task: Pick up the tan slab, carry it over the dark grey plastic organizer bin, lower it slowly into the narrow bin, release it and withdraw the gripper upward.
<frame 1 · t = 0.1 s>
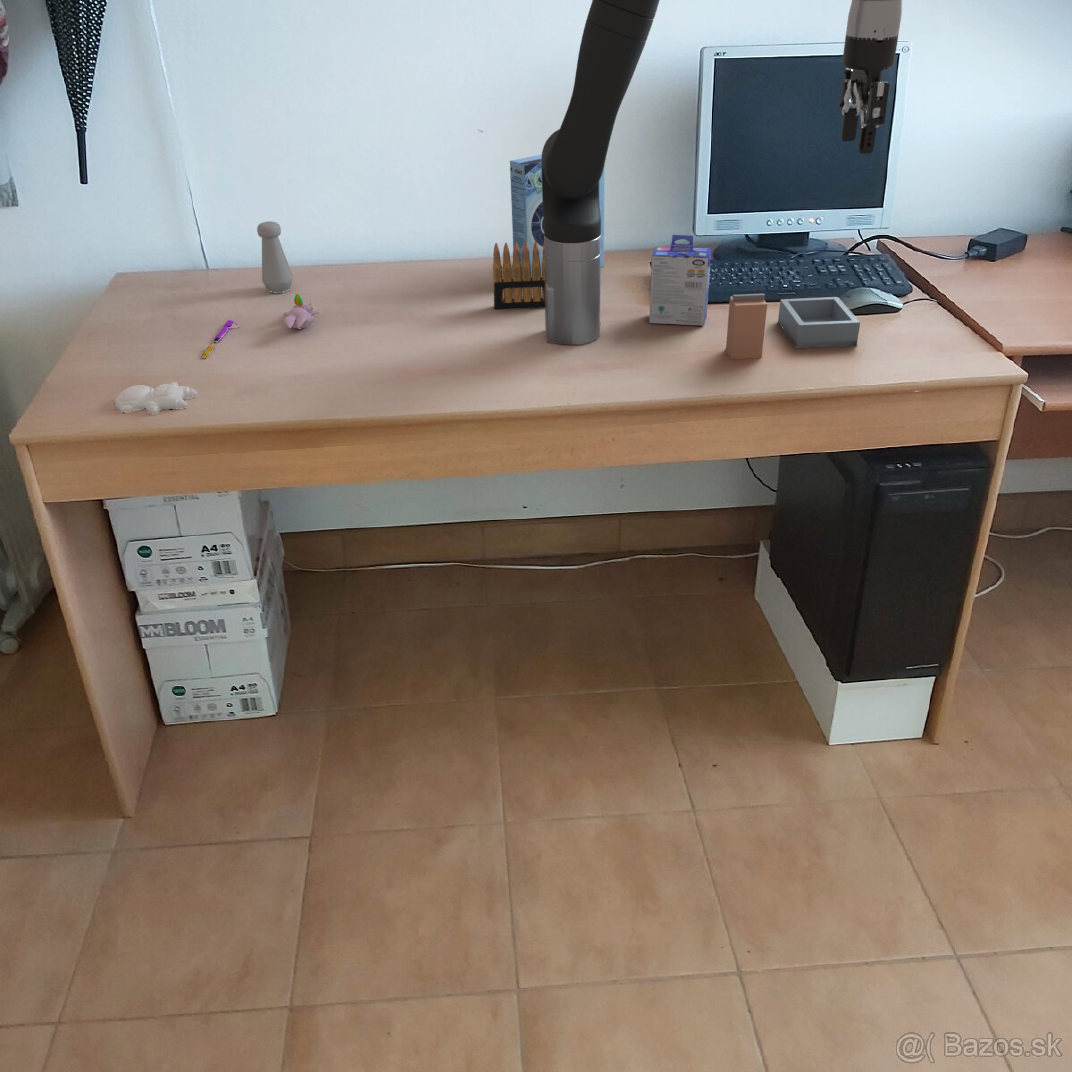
hand: (856, 146, 158), 29 cm above the table, tool pointing down, fingers open, 8 cm apart
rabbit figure: (301, 328, 180), on the table
ammunition clip: (523, 307, 185), on the table
organizer bin: (816, 333, 170), on the table
white flat lumpy piece: (157, 405, 155), on the table
tan slab: (743, 353, 164), on the table
ink cartridge box: (678, 321, 177), on the table
marker pen: (222, 344, 175), on the table
salt shaker: (279, 291, 196), on the table
blue fan box: (559, 275, 199), on the table
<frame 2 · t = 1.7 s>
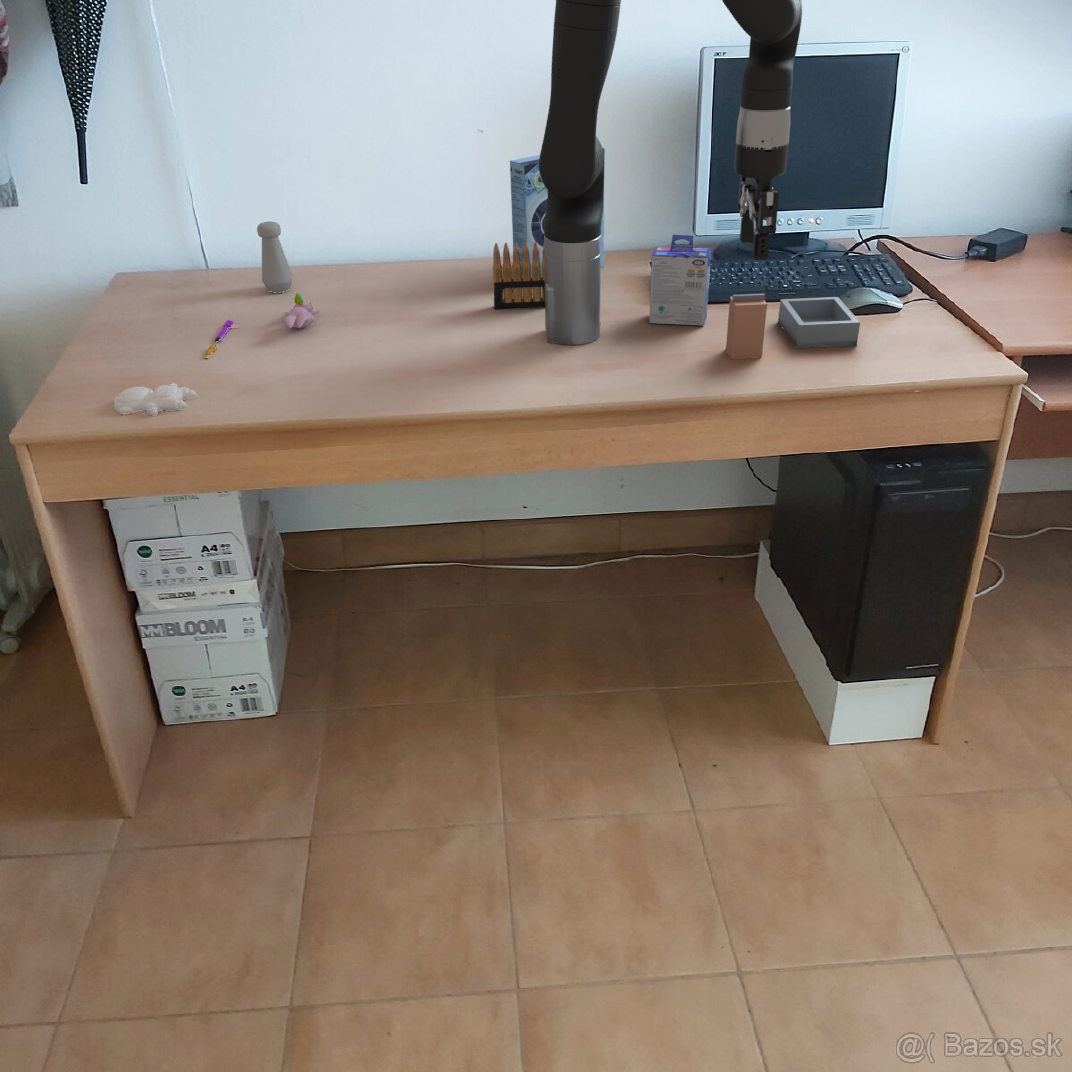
hand: (753, 250, 155), 17 cm above the table, tool pointing down, fingers open, 8 cm apart
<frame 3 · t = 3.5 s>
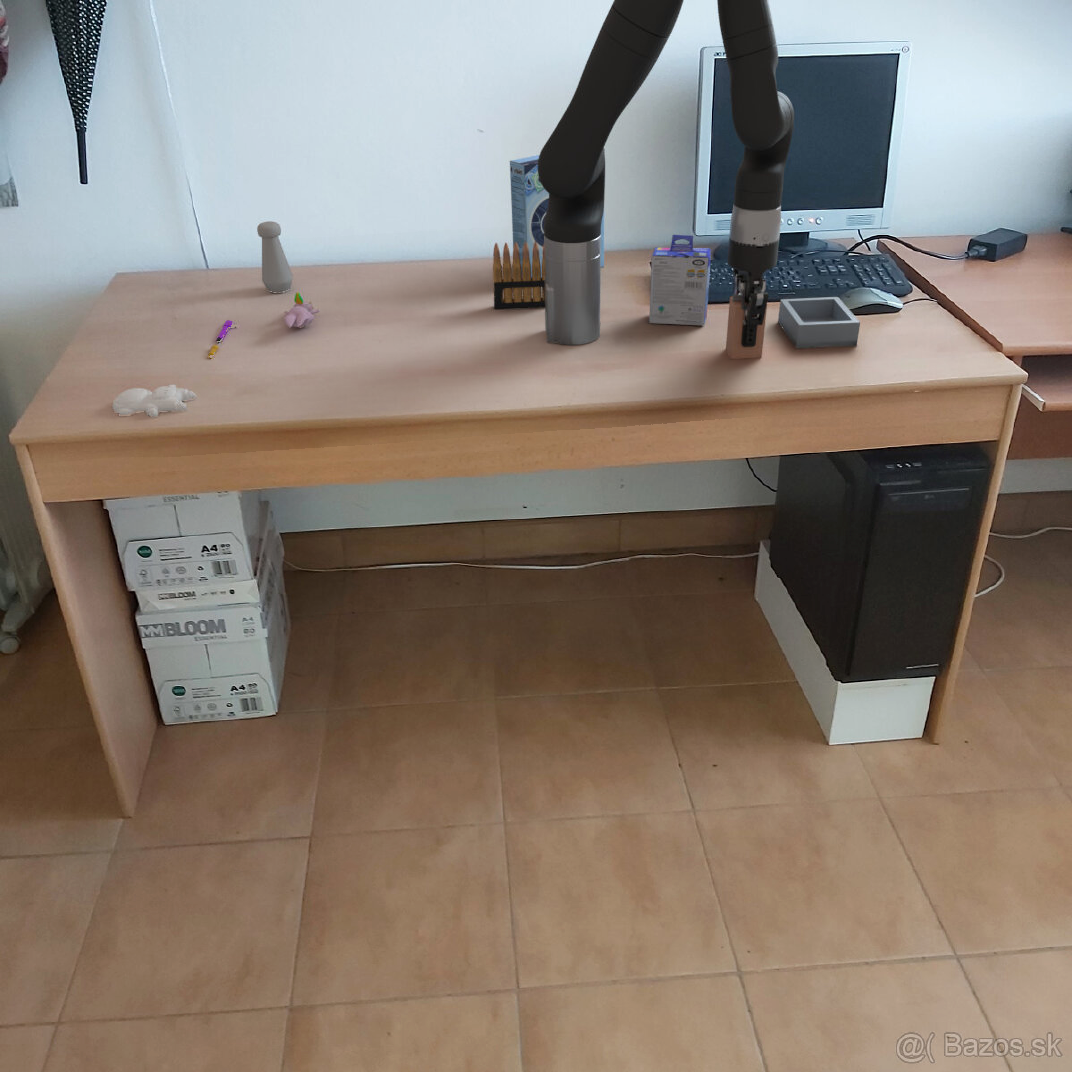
hand: (744, 340, 163), 2 cm above the table, tool pointing down, fingers closed on tan slab, 4 cm apart
tan slab: (743, 353, 164), on the table, touching gripper
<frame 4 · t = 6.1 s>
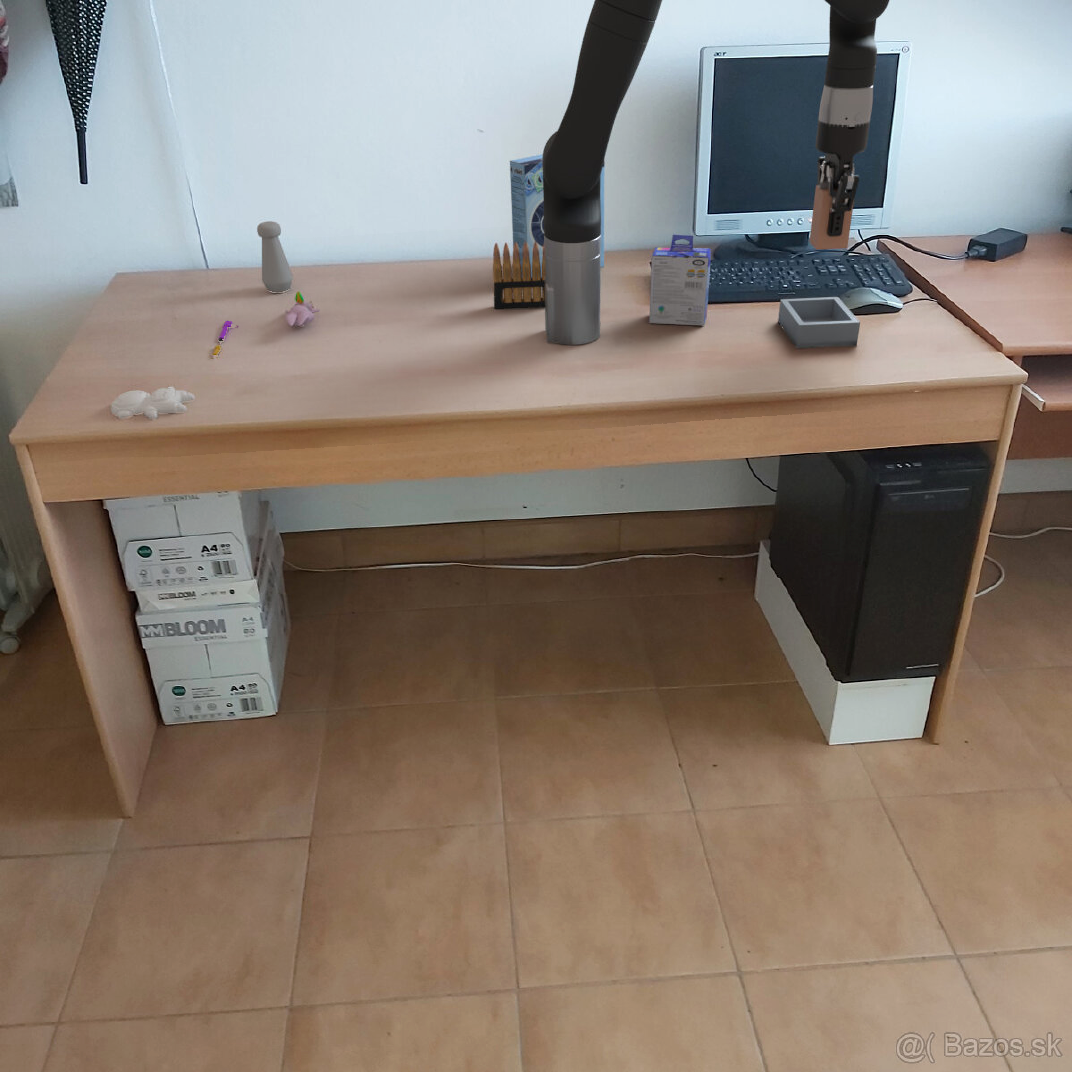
hand: (829, 230, 161), 17 cm above the table, tool pointing down, fingers closed on tan slab, 4 cm apart
tan slab: (828, 245, 162), point 15 cm above the table, touching gripper
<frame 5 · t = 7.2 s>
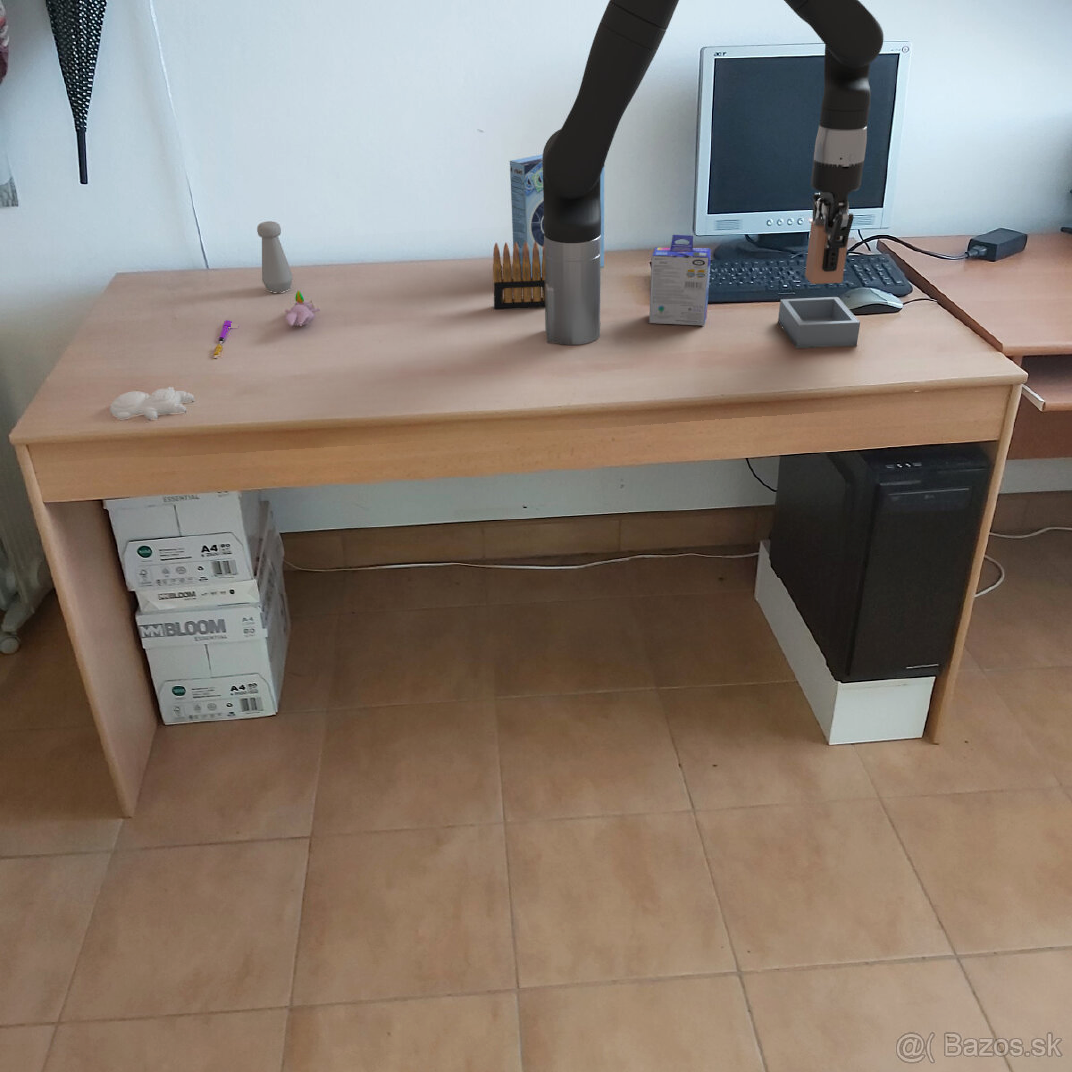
hand: (824, 265, 164), 12 cm above the table, tool pointing down, fingers closed on tan slab, 4 cm apart
tan slab: (823, 279, 165), point 9 cm above the table, touching gripper
when the fingers open (5 cm above the table, at t = 8.7 s): tan slab drops 2 cm, resting on organizer bin.
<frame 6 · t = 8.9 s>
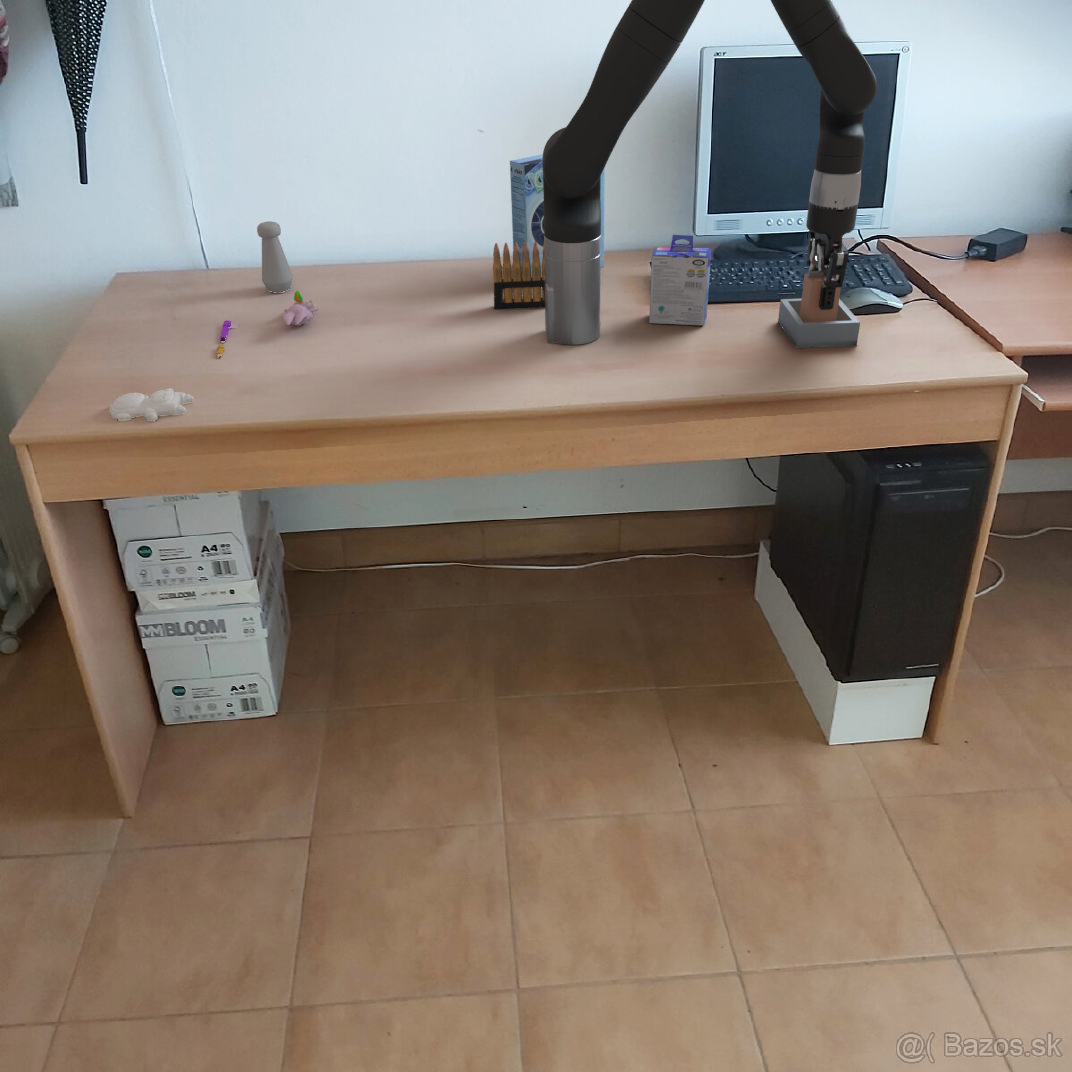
hand: (820, 302, 167), 5 cm above the table, tool pointing down, fingers open, 5 cm apart
tan slab: (816, 328, 170), point 1 cm above the table, touching organizer bin
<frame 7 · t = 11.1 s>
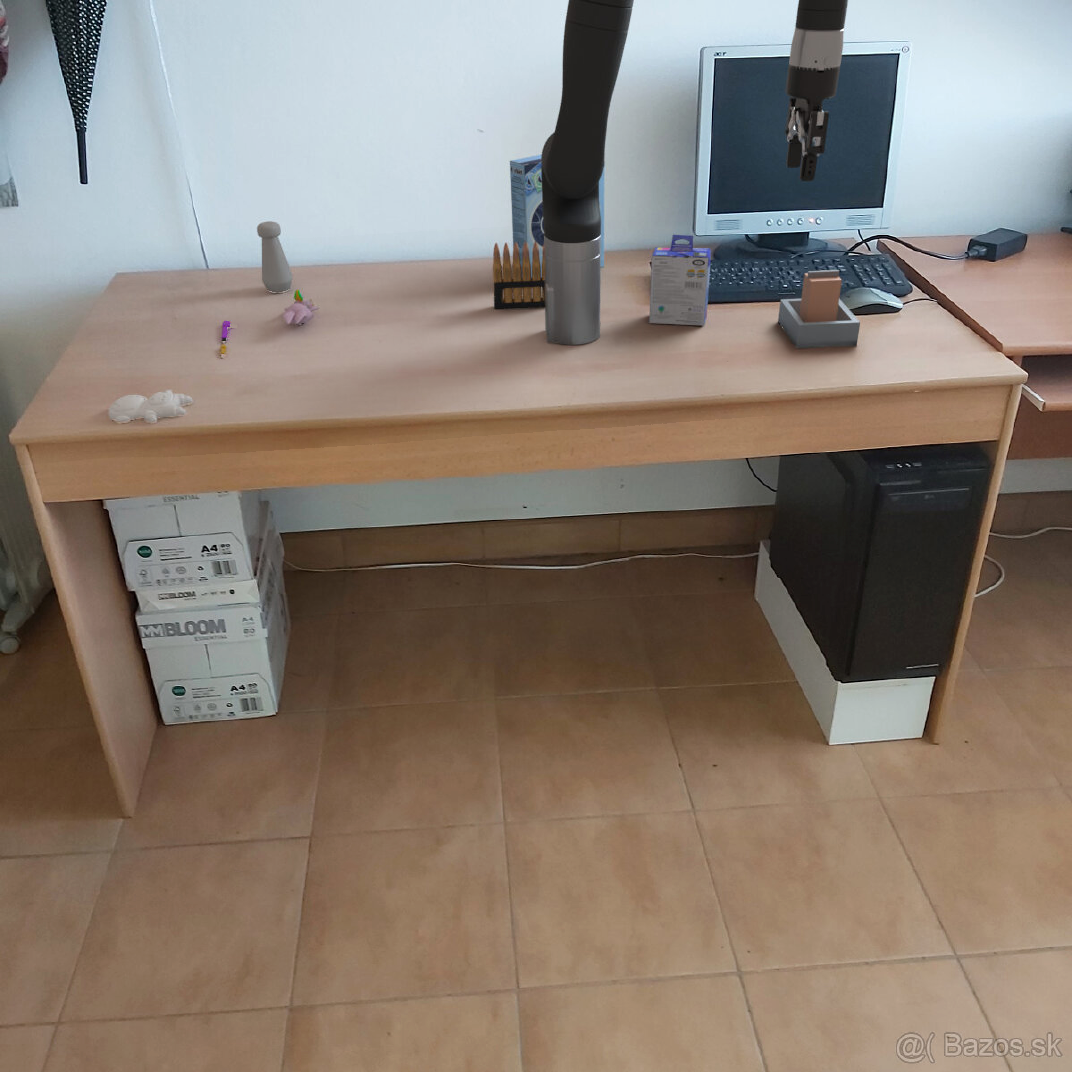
hand: (799, 173, 159), 25 cm above the table, tool pointing down, fingers open, 8 cm apart
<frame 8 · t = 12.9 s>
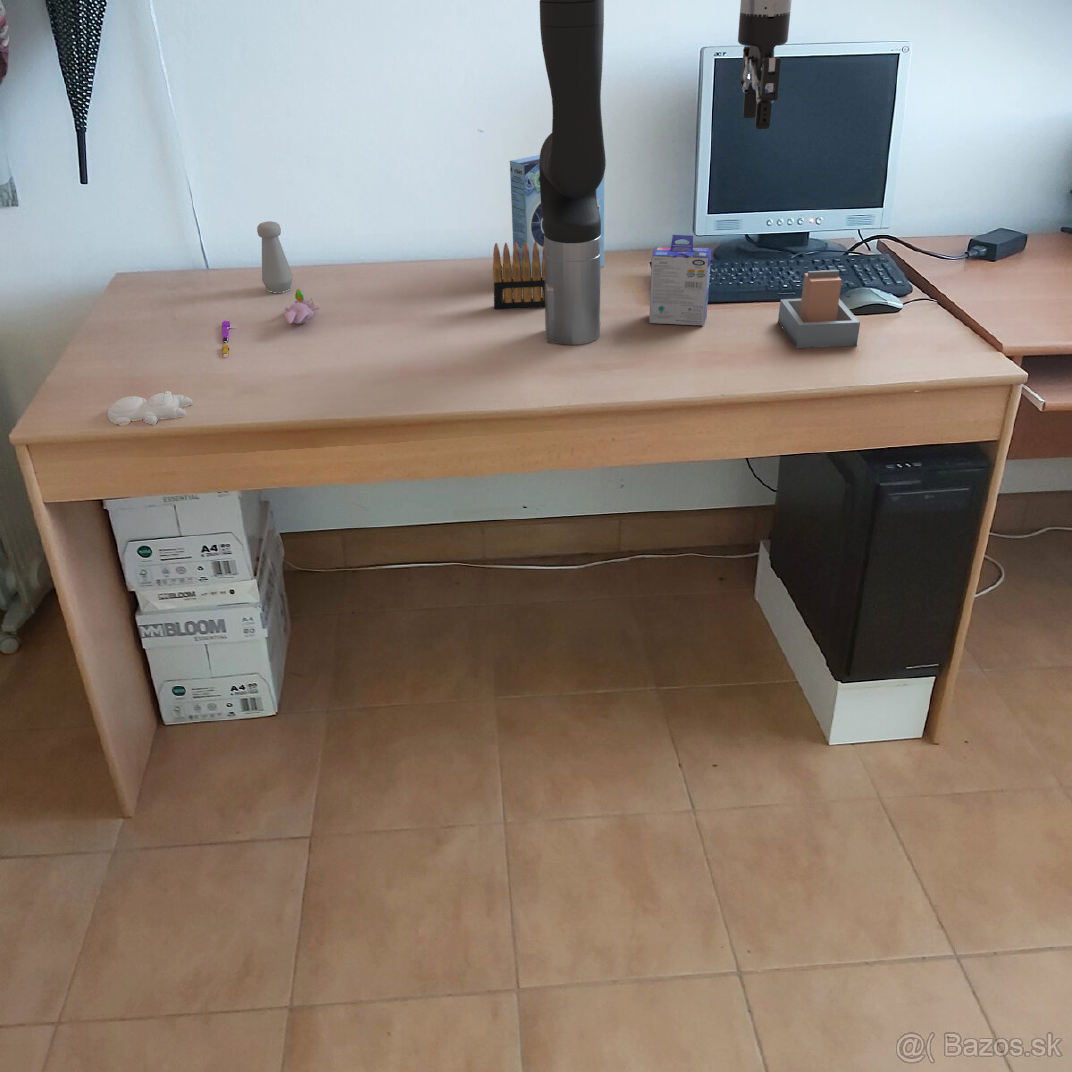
hand: (755, 123, 161), 32 cm above the table, tool pointing down, fingers open, 8 cm apart
at the end: tan slab 0.1 cm off-centre on the organizer bin, point 0.8 cm above the organizer bin's base; tan slab tilted 0°; the gripper is holding nothing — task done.
